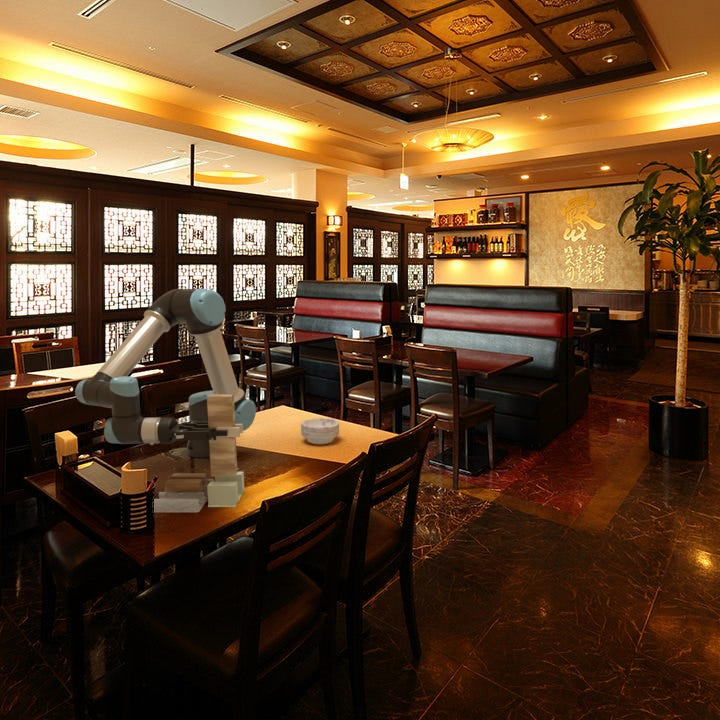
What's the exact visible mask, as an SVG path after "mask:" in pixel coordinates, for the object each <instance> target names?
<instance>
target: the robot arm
mask: <svg viewBox="0 0 720 720" xmlns="http://www.w3.org/2000/svg"><path fill="white" fill-rule="evenodd" d="M225 313H226V304H225V302H224V299H223V297H222V296H221V295H220V294H219V293H218V292H217V291H215V290H214V289H213V290H212V289H207V288H176V289H175V288H173V289H171V290H169V291H167V292H165V293H164V294H162V295H161V296H159V297H158V298H157V299H156V300H155V301H154V302H153V303H151V304H150V306H149V307H148V308H147V309H146V310H145V311H144V313H143V317H144V318H143V319H142V320H141V321H140V322H139V323H138V324H137V325H136V327H134V329H133V330H132V331H131V333H130V334H128V336H127V337H126V338H125V339H124V341H122V343H121V344H120V345H119V346H118V347H117V349H116V350H114V352H113V353H112V354H111V356H110V357H109V358H108V359H107V360H106V361H105V363H104V364H103V365H102V366H101V367H100V368H99V369H98V371H97V372H96V373H95V374H94V375H93V376H92V377H91V378H85V379H82V380H81V381H79V382H78V383H77V384H76V387H75V391H74V392H75V393H74V394H75V397H76V399H77V401H78V402H80V403H82V404H85V405H87V406H95V407H102V408H109V409H111V415H112V416H111V417H110V418H108V419H107V420H106V421H105V423H104V429H103V435H104V439H105V440H106V441H107V442H108V443H111V444H121V445H126V444H127V445H128V444H130V445H133V444H149V445H150V446H153V445H154V444H161V445H162V444H166V445H167V444H174V443H175V442H182V441H183V442H184V441H187V446H186V454H187V456H189V457H190V458H191V457H192V458H199V459H203V458H205V459H206V458H207V457H208V458H210V446H209V440H212V438H213V440H216V436H217V437H236V438H240V437H241V434H243V433H244V432H245V431H246V430H248V429H249V428H250V427H252V425H253V423H254V421H255V418H256V413H257V407H256V404H255V402H254V401H253V400H251V399H247V397H246V394H245V391H244V390H243V389H242V388H240V387H239V386H238V383H237V379H236V377H235V376H236V375H235V374H234V373H235V372H234V369H233V367H232V364H231V361H230V357H229V353H228V350H227V348H226V345H225V340H224V338H223V334H222V331H221V328H222V327H223V325H224V324H223V323H224V322H223V321H224V319H225V317H226V314H225ZM177 324H178V325H179V324H185V326H186V329H187V332H188V334H189V335H190V336H193V337H194V338H195V341H196V344H197V348H198V350H199V353H200V355H201V359H202V362H203V364H204V367H205V372H206V374H207V376H208V379H209V382H210V386H211V389H212V390H205V391H200V392H196V393H193V394H190V396H189V397H188V405H187V406H188V414H189V415H188V418H189V422H188V421H184V422H181V423H178V422H177V419H176V418H175V417H142V416H141V407H140V406H141V405H140V403H141V402H140V389H139V383H138V379H137V378H136V377H135V376H129V374H130V373H131V372H132V371H133V370H134V369H135V367H136V366H137V365H138V364H139V363H140V361H141V360H142V359H143V357H145V355H146V354H147V353H148V352H149V351H150V349H151V348H152V346H153V345H154V344H155V343H156V342H157V340H159V338H160V337H161V336H162V335H163V334H164V333H167V332H169V331H170V329H171V328H172V327H174V326H176V325H177ZM209 394H234V410H235V427H217V430H216V429H214V428H213V429H212V428H209V427H208V408H207V396H208V395H209Z"/></svg>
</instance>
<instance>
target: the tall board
mask: <svg viewBox="0 0 720 720" xmlns="http://www.w3.org/2000/svg"><path fill="white" fill-rule="evenodd" d="M207 408H208V427H209V428H212V429H213V428H214V429H216V430H217V427H235V410H234V394H209V395H208V396H207ZM209 446H210V457H209V461H210V463H209V464H210V477H215V476H235V475H236V474H237V472H238V461H237V460H238V459H237V455H238V454H237V437H217V436H216V440H213V438H212V440H209Z"/></svg>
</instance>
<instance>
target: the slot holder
mask: <svg viewBox="0 0 720 720" xmlns="http://www.w3.org/2000/svg"><path fill="white" fill-rule="evenodd" d="M244 473H245V472H244V471H237V474H236V475H235V476H214V481H213V482H210V483H209V484H208V486H207V488H208V499H207V502H208V503H207V504H208V506H207V507H208V508H236V506H237V505H238V503H239V502H240V499H241V497H242V495H243V494H244V492H245V490H246V489H245V476H244Z"/></svg>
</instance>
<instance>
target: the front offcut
mask: <svg viewBox="0 0 720 720" xmlns="http://www.w3.org/2000/svg"><path fill="white" fill-rule="evenodd" d="M164 484H165V486H164V488H165V487H166V492H203V490H202V479H182V480H171V479H167V480H166V481H165V483H164Z"/></svg>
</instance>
